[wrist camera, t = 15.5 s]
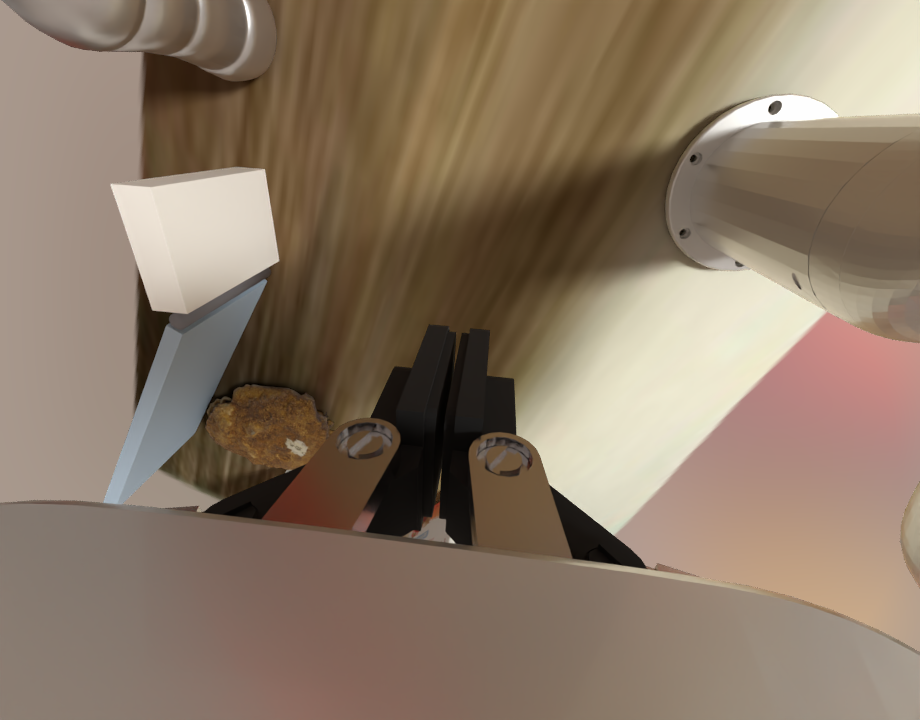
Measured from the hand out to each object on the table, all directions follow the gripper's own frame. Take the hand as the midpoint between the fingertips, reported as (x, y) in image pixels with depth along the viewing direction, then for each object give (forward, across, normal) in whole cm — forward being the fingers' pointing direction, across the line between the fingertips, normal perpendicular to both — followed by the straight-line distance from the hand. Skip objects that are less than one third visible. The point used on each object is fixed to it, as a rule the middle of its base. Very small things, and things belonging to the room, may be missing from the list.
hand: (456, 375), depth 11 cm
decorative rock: (+28, +23, +26) cm, 44 cm away
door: (+27, +28, +17) cm, 42 cm away
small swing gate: (+27, +21, +17) cm, 38 cm away
